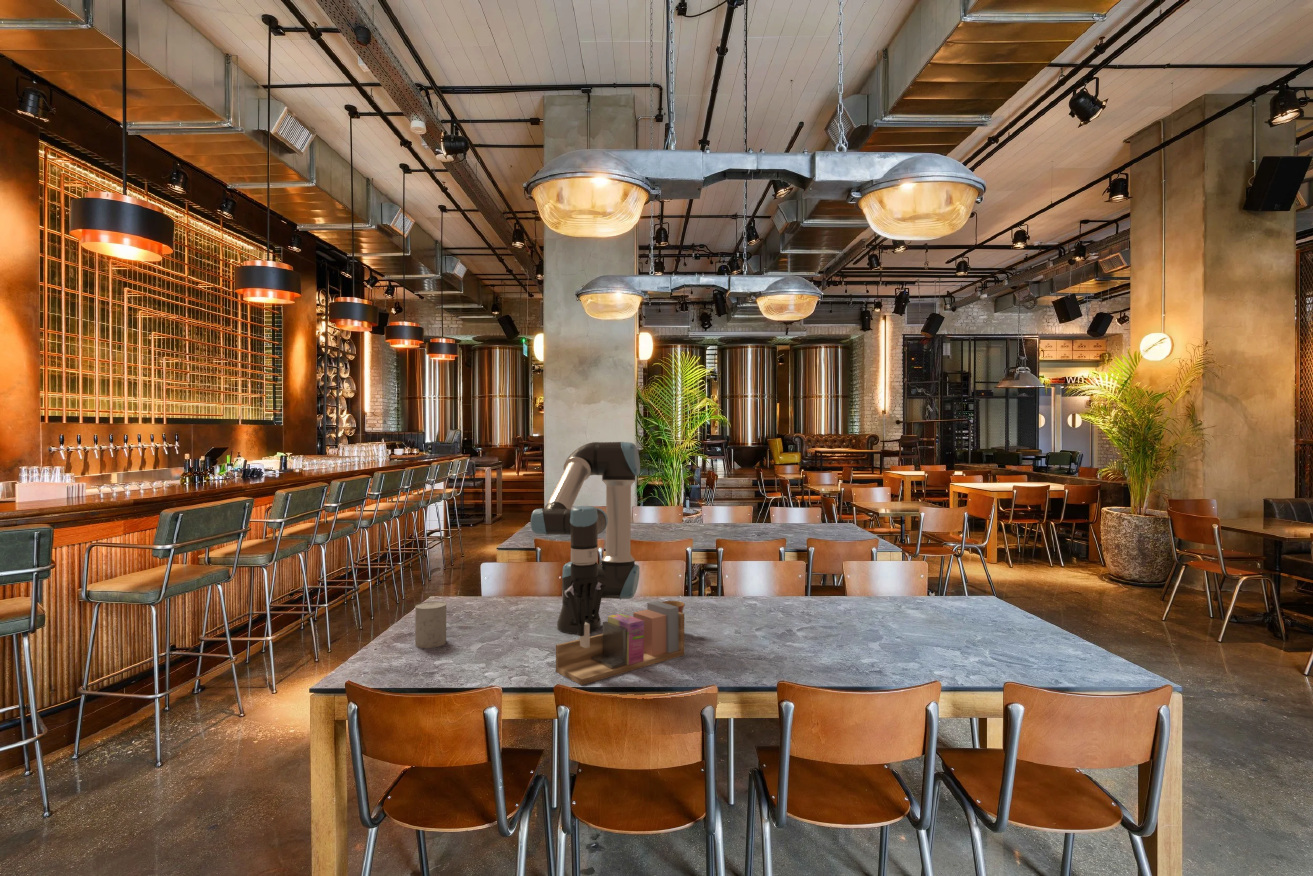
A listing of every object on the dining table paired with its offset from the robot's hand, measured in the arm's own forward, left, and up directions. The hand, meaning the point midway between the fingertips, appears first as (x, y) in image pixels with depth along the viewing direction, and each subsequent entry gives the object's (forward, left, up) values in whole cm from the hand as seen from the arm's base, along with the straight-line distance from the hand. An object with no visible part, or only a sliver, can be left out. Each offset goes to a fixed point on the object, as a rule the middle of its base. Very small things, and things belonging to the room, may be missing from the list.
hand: (584, 646), depth 174 cm
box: (+2, +13, -6) cm, 14 cm away
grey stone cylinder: (-54, -23, -8) cm, 59 cm away
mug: (-10, +41, -8) cm, 42 cm away
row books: (+1, +25, -6) cm, 25 cm away
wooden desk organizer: (+1, +13, -7) cm, 15 cm away
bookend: (+1, +7, -6) cm, 9 cm away
